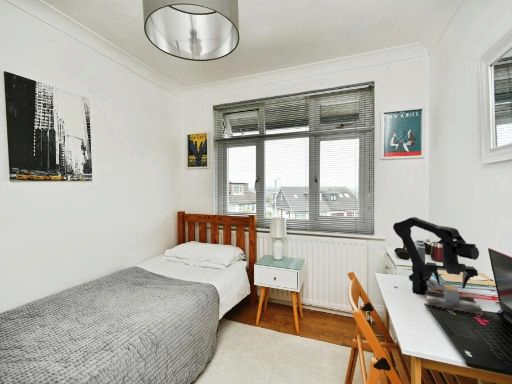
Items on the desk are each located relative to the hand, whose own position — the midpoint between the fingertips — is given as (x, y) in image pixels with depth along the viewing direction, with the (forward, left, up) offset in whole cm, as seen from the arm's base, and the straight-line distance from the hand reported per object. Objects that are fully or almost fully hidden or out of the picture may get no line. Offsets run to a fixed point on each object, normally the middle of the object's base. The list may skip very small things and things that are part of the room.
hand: (451, 286), depth 115 cm
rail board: (0, 0, -9) cm, 9 cm away
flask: (-10, +28, -9) cm, 31 cm away
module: (0, 0, -7) cm, 7 cm away
